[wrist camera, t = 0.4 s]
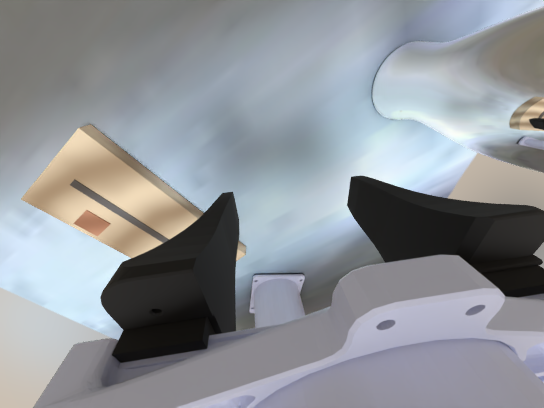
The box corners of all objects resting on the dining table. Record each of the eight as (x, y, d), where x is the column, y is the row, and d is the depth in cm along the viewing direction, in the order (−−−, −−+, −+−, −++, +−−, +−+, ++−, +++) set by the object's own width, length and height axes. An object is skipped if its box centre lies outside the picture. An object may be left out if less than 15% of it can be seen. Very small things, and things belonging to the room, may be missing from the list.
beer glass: (378, 34, 16) (834, -109, 4) (456, 34, 17) (1066, -84, 4) (359, 124, 20) (554, 206, 7) (423, 122, 21) (701, 193, 8)
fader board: (245, 246, 27) (245, 255, 26) (194, 281, 30) (192, 291, 28) (90, 124, 17) (77, 128, 16) (35, 191, 20) (19, 199, 19)
